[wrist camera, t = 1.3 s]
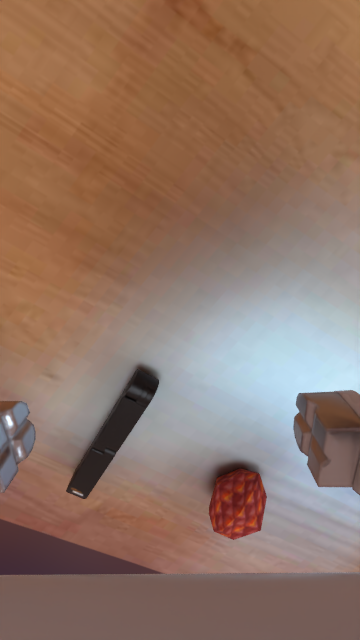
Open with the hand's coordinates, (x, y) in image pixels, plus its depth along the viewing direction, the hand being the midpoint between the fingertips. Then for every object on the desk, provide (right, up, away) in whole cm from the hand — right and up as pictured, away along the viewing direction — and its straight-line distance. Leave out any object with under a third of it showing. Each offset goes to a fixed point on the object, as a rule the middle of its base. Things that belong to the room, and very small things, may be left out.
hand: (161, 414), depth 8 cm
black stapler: (-7, -9, +23) cm, 26 cm away
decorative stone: (+7, -17, +25) cm, 31 cm away
